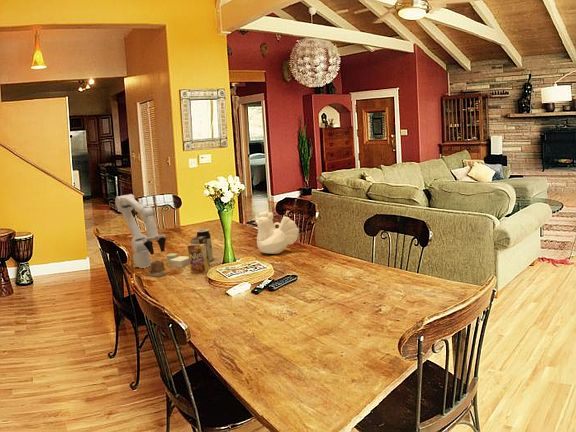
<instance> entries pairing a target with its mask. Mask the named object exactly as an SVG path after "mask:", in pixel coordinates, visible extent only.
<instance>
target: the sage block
mask: <svg viewBox="0 0 576 432" xmlns="http://www.w3.org/2000/svg"><path fill="white" fill-rule="evenodd" d="M165 257H166V262H167V265H170V261H169V260H171V259H174V258H177V257H179V253H178V252H177V253H174V252H173V253H172V252H171V253H170V252H169V253H168V254H167V255H166V256H165Z"/></svg>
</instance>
